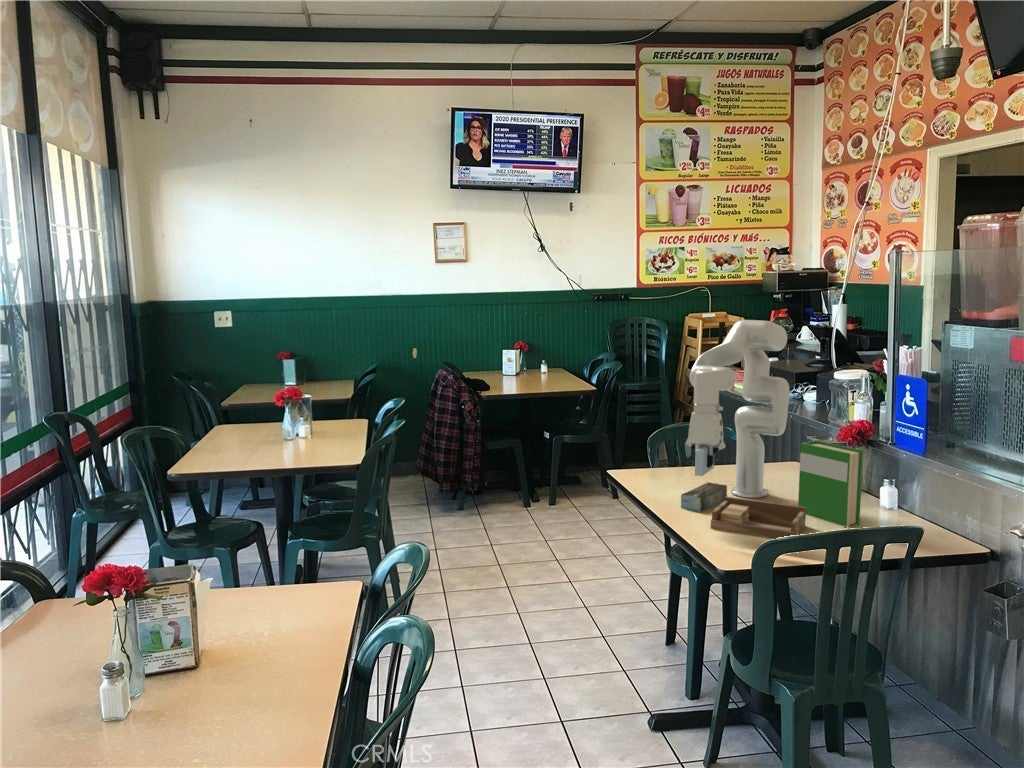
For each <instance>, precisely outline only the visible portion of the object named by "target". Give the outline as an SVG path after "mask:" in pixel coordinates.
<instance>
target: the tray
mask: <svg viewBox="0 0 1024 768" xmlns="http://www.w3.org/2000/svg"><path fill="white" fill-rule="evenodd" d="M730 504H736V505H743V506H750V507H749V521H748V522H747V523H746V524H740V523H734V522H727V521H720V519H721V512H722V511H723V510H724V509H726V508H727V507H728V506H729V505H730ZM806 516H807V515H806V507H801V506H798V505H793V504H787V503H786V504H785V503H777V502H769V501H761V500H755V499H750V498H749V499H746V498H743V497H740V498H739V497H735V496H734V497H733V496H728V495H727V496H726V497H725V501H723V502H721V503H719V504H718V505H717V506H716V507H715V508H714V509H713V510H712V512H711V519H710V529H713V530H719V531H720V530H721V531H725V532H731V533H732V532H733V533H738V534H744V535H745V534H747V535H752V536H756V537H764V538H771V539H776V538H778V537H784V536H790V535H797V534H799V535H800V534H801V532H802V531H803V529H804V528H805V527H806Z"/></svg>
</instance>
